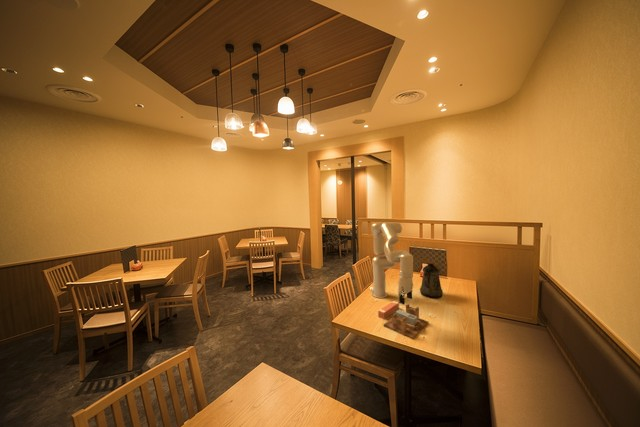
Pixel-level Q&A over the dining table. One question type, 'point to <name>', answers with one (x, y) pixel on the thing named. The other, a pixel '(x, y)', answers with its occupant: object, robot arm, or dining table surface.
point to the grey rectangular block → (410, 318)
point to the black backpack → (431, 282)
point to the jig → (403, 326)
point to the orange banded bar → (388, 309)
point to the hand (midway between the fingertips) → (405, 300)
